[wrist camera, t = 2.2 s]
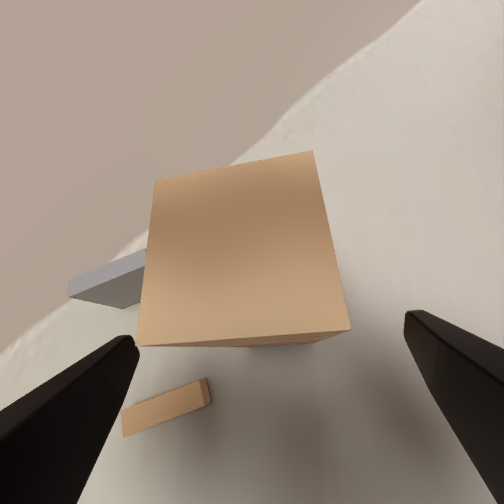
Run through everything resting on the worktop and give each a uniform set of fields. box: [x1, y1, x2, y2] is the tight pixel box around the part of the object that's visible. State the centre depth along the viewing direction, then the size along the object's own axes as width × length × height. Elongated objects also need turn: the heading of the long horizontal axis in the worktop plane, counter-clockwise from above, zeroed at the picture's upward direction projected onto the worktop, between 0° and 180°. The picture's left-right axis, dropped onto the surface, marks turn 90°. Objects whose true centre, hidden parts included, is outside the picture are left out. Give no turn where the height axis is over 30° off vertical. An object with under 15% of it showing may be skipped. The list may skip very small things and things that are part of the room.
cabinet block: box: [135, 150, 351, 347], centre depth 11 cm, size 5×5×12 cm
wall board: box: [68, 248, 211, 437], centre depth 16 cm, size 10×6×5 cm, turn 20°
